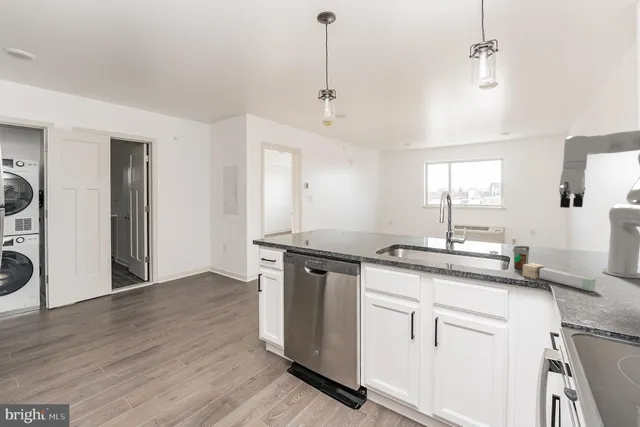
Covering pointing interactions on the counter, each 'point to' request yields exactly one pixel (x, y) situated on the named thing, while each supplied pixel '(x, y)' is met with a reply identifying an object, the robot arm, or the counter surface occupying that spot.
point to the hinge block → (532, 270)
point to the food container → (520, 256)
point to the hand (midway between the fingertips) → (571, 207)
